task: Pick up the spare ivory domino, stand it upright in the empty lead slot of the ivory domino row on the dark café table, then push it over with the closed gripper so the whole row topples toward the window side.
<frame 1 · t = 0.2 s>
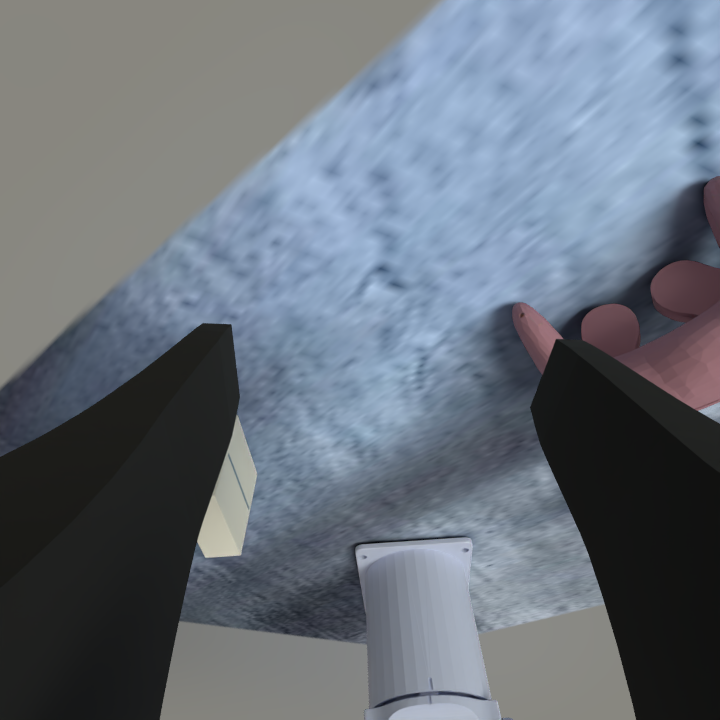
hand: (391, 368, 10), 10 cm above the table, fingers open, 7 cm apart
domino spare: (232, 447, 26), on the table
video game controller: (624, 285, 21), on the table
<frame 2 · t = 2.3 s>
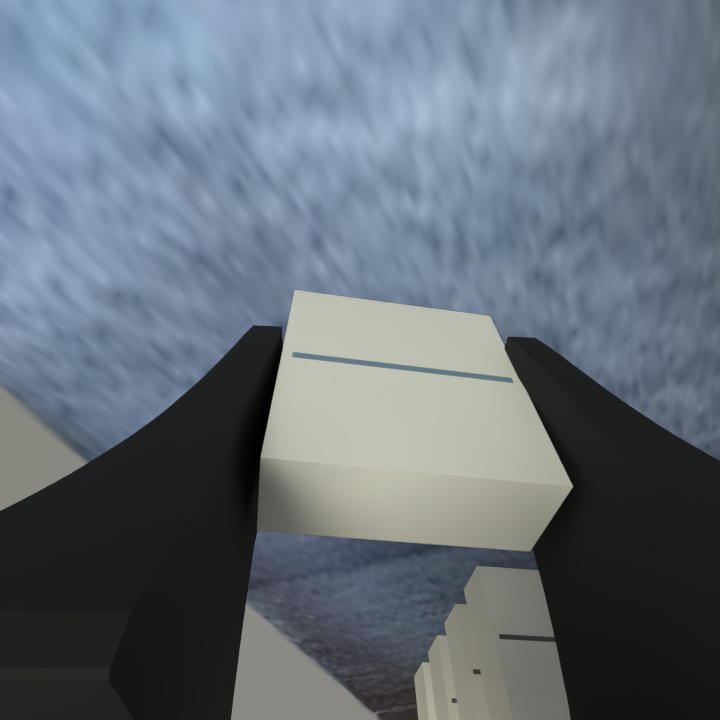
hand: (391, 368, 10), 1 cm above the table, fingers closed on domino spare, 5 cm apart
domino c: (480, 645, 22), on the table
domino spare: (387, 334, 12), on the table, touching gripper
domino a: (526, 581, 19), on the table
domino b: (501, 616, 21), on the table
domino d: (462, 671, 24), on the table
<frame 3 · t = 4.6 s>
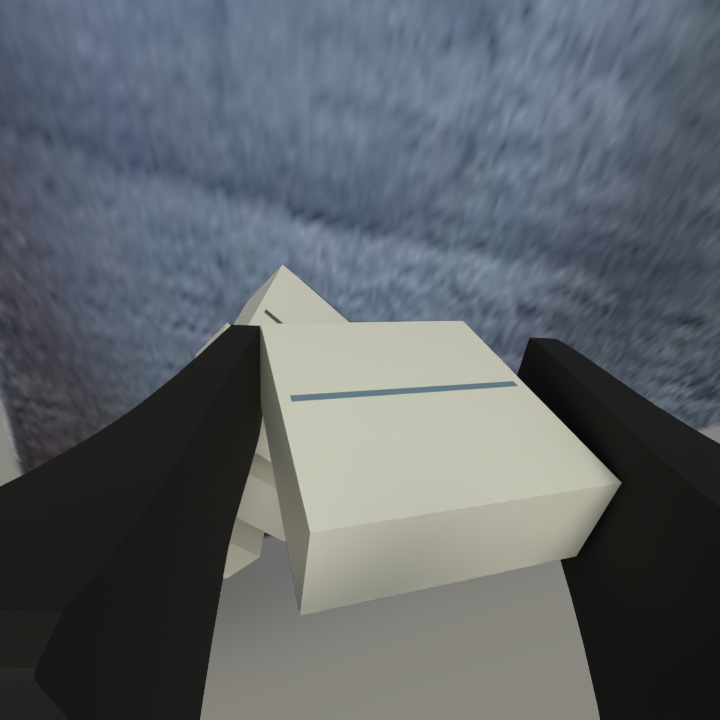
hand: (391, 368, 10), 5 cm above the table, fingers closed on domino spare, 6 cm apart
domino c: (218, 419, 18), on the table
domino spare: (363, 356, 11), point 4 cm above the table, tilted 16°, touching domino a, gripper
domino a: (321, 328, 16), on the table, tilted 7°, touching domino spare, gripper
domino b: (266, 376, 17), on the table
when the fingers open (2 cm above the table, at t = 5.8 s): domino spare drops 2 cm, on the table.
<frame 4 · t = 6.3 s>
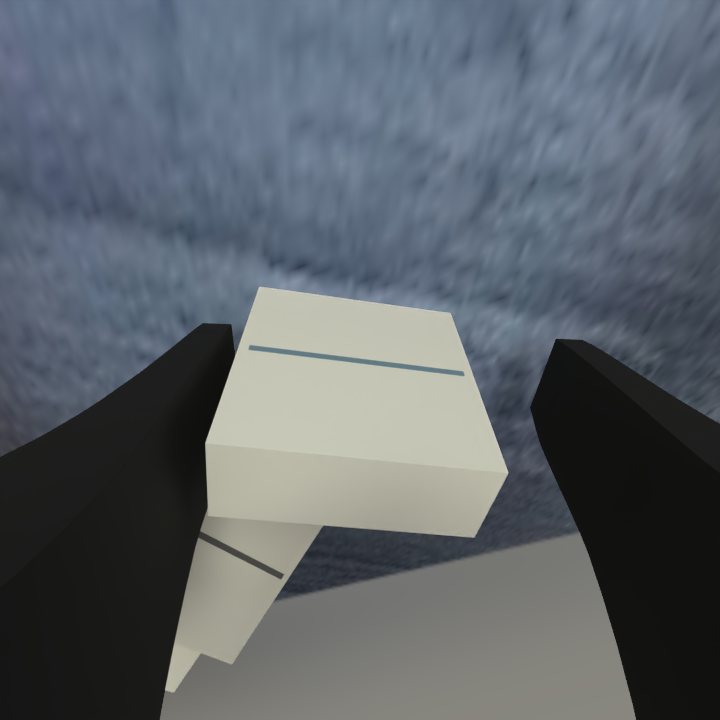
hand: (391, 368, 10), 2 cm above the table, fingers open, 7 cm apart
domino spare: (351, 330, 12), on the table
domino a: (269, 453, 14), point 1 cm above the table, tilted 51°, touching domino b
domino b: (211, 496, 15), point 1 cm above the table, tilted 51°, touching domino a, domino c
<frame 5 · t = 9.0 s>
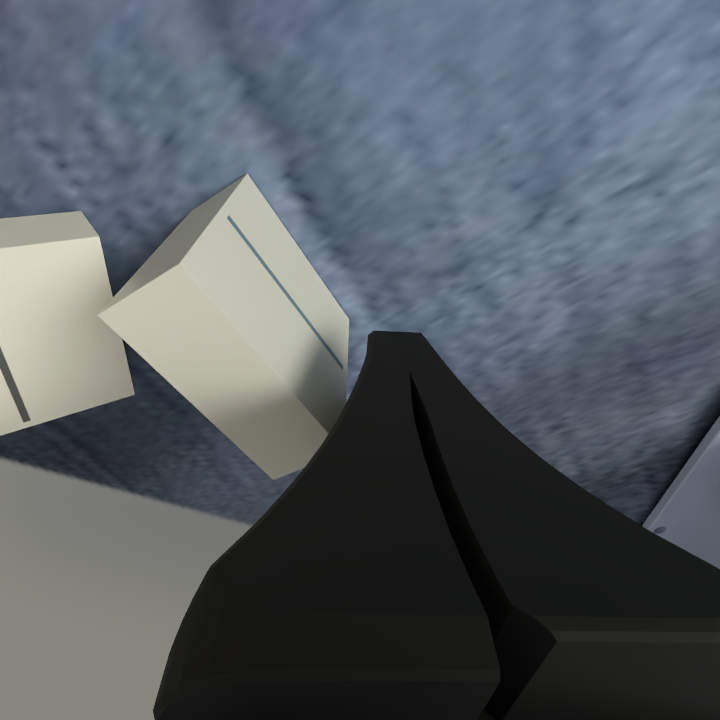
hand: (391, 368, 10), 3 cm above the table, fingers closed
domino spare: (276, 269, 13), on the table, touching gripper
domino a: (109, 309, 13), point 1 cm above the table, tilted 54°, touching domino b
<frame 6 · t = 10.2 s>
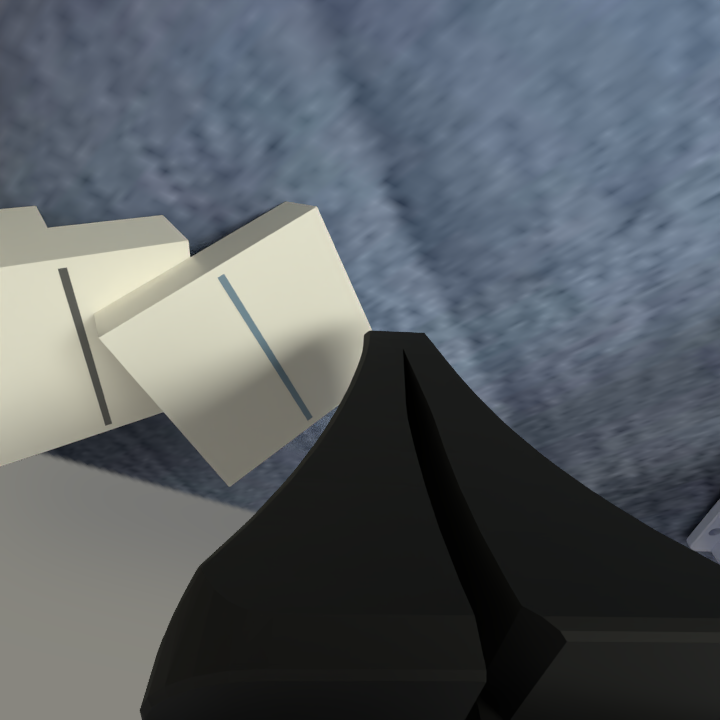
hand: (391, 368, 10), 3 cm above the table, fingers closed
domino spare: (339, 288, 12), point 1 cm above the table, tilted 58°
domino a: (186, 312, 13), point 1 cm above the table, tilted 54°, touching domino b
domino b: (68, 305, 12), point 1 cm above the table, tilted 54°, touching domino a, domino c
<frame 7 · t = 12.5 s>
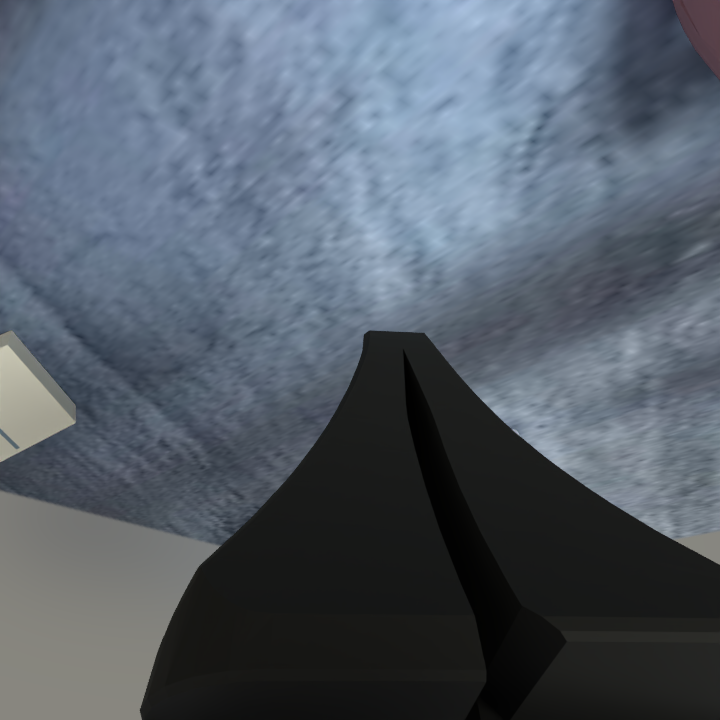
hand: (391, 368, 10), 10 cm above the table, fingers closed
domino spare: (44, 377, 22), point 1 cm above the table, tilted 61°, touching domino a
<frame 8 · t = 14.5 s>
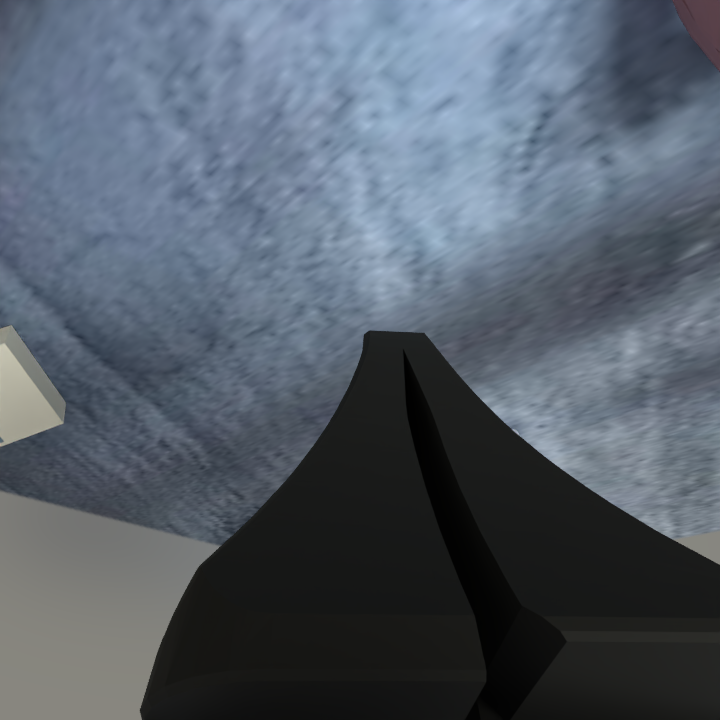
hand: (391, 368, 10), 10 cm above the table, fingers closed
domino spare: (38, 375, 22), point 1 cm above the table, tilted 66°
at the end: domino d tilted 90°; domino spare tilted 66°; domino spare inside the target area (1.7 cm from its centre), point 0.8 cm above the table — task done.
